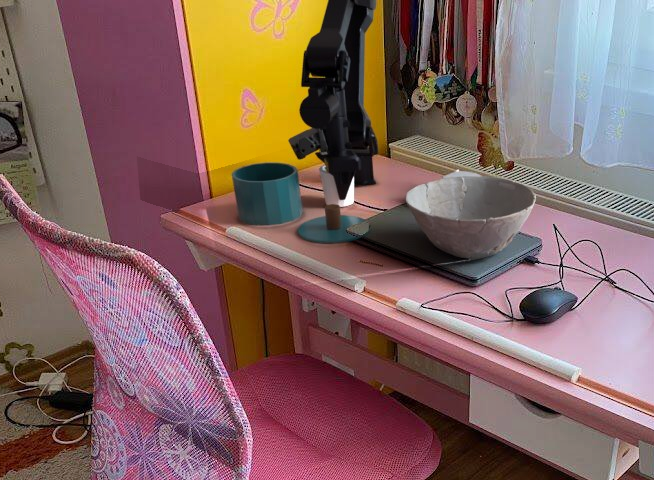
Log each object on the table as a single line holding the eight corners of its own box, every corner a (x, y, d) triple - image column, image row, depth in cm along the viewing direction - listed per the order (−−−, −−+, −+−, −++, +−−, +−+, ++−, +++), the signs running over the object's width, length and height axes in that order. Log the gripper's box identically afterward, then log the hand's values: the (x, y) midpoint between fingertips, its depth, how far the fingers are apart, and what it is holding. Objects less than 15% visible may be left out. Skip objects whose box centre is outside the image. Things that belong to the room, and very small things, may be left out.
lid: (361, 216, 168) (359, 191, 165) (378, 240, 157) (376, 214, 155) (293, 225, 164) (289, 199, 162) (305, 250, 154) (302, 223, 151)
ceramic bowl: (442, 220, 166) (440, 169, 160) (553, 239, 157) (555, 185, 152) (382, 262, 149) (379, 206, 144) (503, 285, 140) (504, 226, 135)
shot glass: (362, 198, 174) (359, 164, 170) (347, 209, 169) (344, 174, 165) (332, 195, 176) (328, 161, 172) (316, 206, 171) (312, 171, 167)
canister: (296, 203, 175) (291, 159, 170) (307, 223, 165) (302, 177, 160) (235, 210, 172) (228, 166, 167) (243, 231, 162) (235, 185, 157)
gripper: (281, 107, 168) (291, 185, 177) (297, 131, 154) (307, 215, 162) (337, 102, 171) (344, 179, 180) (358, 125, 157) (364, 207, 165)
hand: (339, 194), depth 172 cm, fingers closed on shot glass, 6 cm apart
